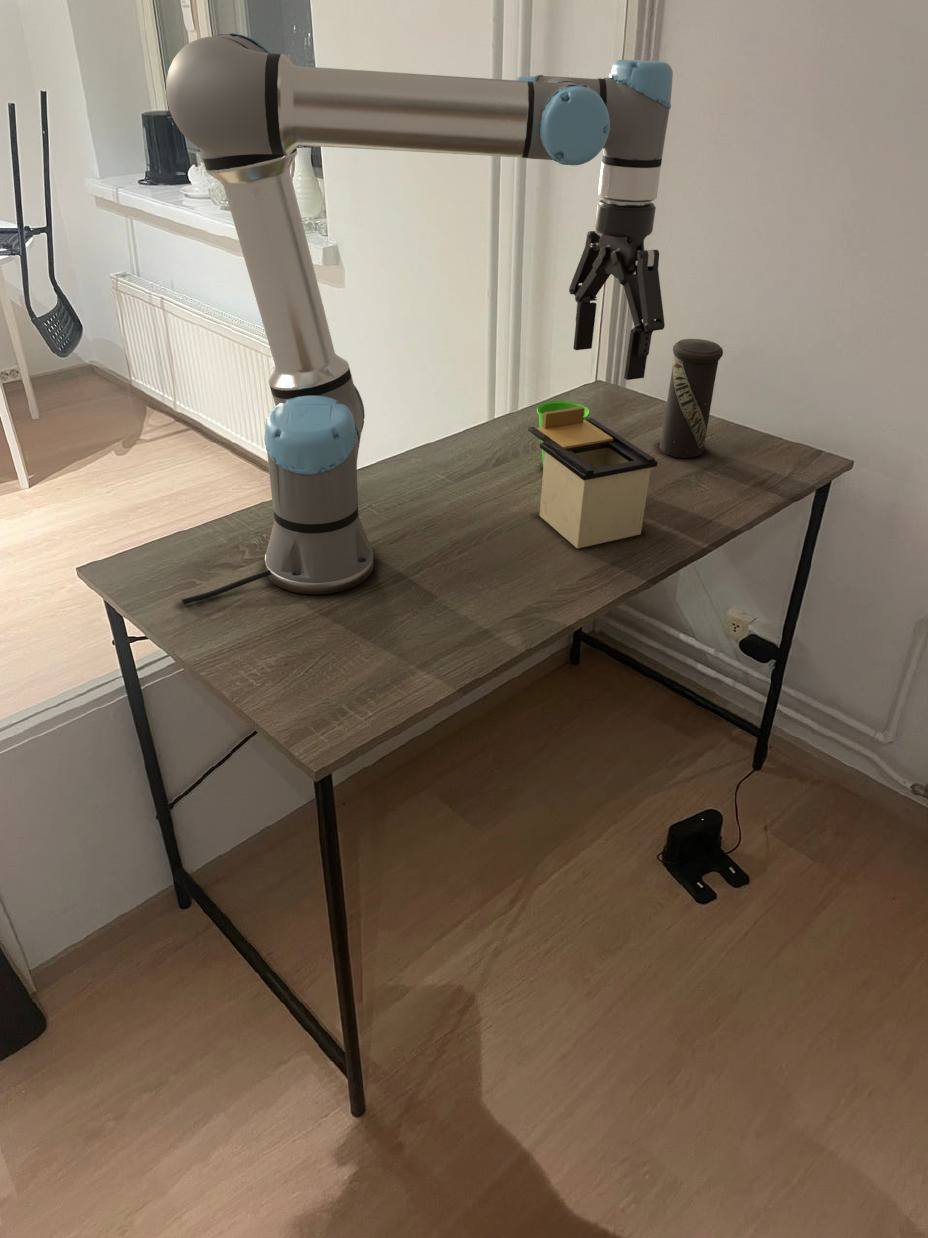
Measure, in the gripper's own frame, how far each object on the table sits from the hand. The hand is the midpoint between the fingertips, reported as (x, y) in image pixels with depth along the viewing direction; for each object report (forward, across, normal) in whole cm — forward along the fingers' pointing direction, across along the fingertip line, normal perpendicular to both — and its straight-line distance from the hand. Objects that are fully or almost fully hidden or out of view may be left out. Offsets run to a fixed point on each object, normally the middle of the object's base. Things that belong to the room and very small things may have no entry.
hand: (607, 363), depth 129 cm
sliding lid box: (+26, +2, 0) cm, 26 cm away
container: (+26, +19, -32) cm, 46 cm away
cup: (+26, +20, -6) cm, 34 cm away
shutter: (+14, +7, 0) cm, 15 cm away
